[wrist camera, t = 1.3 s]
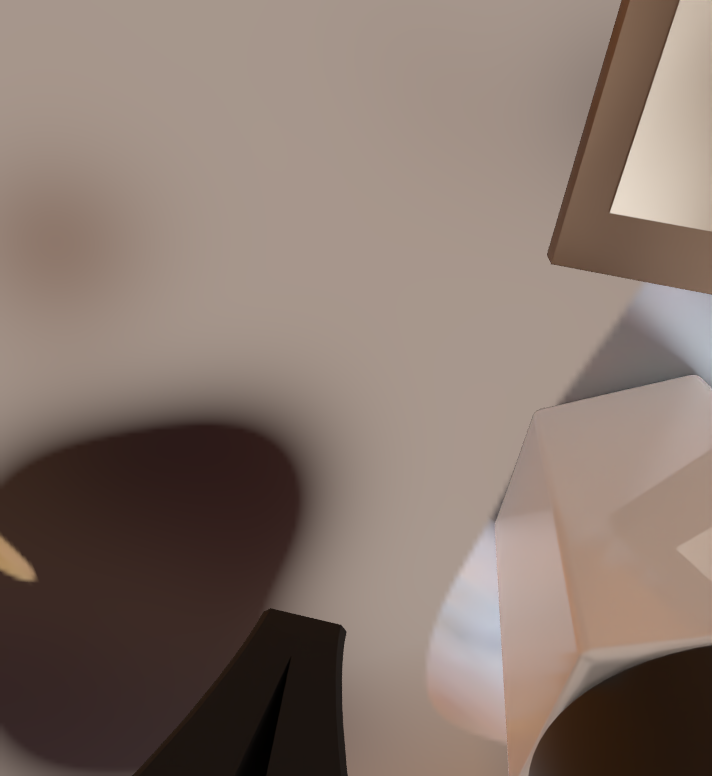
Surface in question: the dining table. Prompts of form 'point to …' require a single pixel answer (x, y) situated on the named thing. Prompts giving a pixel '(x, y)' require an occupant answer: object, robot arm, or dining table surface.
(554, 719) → the jar
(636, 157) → the board
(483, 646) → the dining table surface
